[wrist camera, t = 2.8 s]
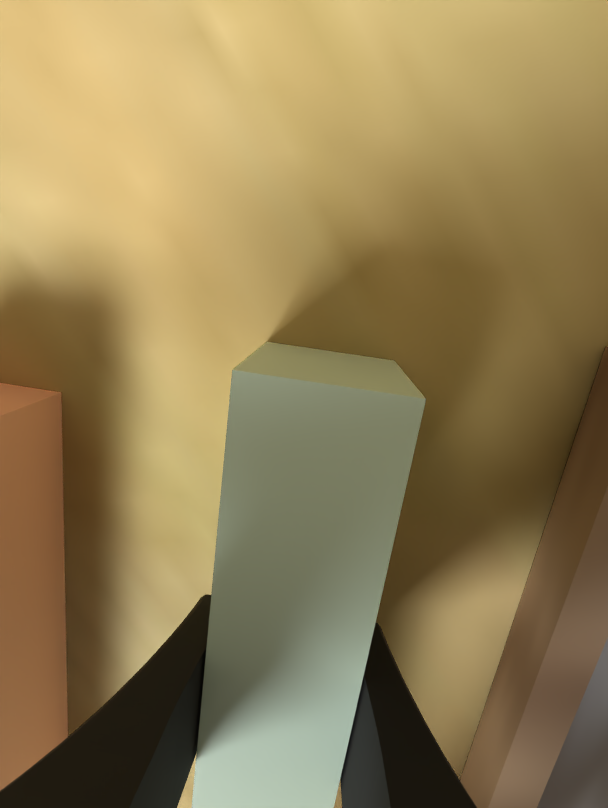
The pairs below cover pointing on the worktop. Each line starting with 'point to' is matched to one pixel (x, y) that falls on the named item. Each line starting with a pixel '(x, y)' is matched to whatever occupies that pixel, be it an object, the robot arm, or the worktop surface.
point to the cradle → (556, 650)
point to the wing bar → (31, 579)
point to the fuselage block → (299, 569)
